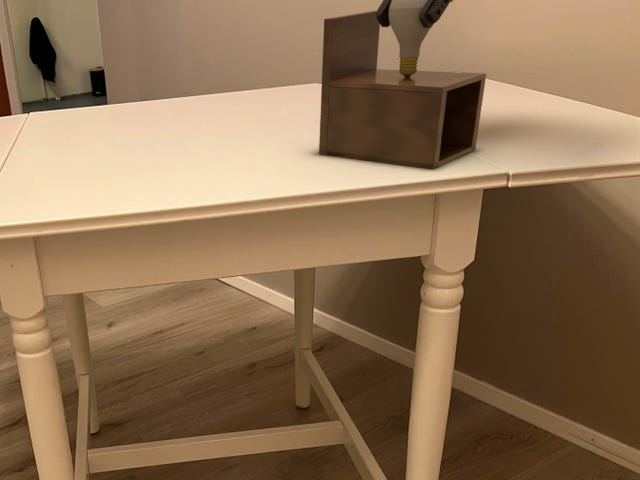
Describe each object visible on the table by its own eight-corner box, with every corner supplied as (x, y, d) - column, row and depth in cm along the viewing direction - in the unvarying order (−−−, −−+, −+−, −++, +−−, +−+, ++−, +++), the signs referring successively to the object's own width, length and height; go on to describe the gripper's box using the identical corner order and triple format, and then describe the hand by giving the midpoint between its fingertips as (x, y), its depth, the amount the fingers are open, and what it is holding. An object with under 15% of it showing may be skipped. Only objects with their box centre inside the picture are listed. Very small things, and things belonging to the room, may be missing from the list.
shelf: (475, 149, 89) (496, 8, 81) (433, 169, 82) (451, 17, 74) (364, 137, 99) (372, 10, 91) (318, 154, 92) (323, 18, 85)
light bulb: (383, 81, 84) (390, -13, 79) (384, 74, 89) (391, -15, 84) (431, 79, 83) (441, -17, 78) (430, 72, 87) (440, -19, 82)
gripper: (416, -120, 85) (340, 0, 85) (530, -140, 74) (443, -2, 74) (439, -70, 90) (367, 43, 90) (549, -82, 79) (467, 47, 79)
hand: (402, 22), depth 82 cm, fingers closed on light bulb, 5 cm apart
